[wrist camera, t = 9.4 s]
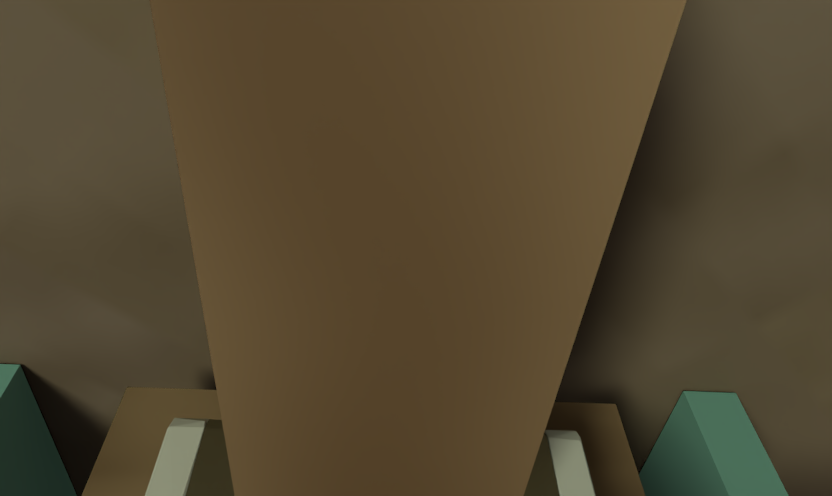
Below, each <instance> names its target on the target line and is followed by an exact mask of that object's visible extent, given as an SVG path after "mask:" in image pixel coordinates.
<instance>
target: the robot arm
mask: <svg viewBox="0 0 832 496" xmlns="http://www.w3.org/2000/svg"><path fill="white" fill-rule="evenodd" d="M145 496H235V495H234V489H233V483H232V477H231V471H230V466H229V460H228V454H227V448H226V442H225V436H224V431H223V425H222V420H215V419H197V418H174V419H173V421H172V422H171V424H170V425H169V427H168V428H167V431H166V434H165V437H164V440H163V443H162V446H161V449H160V452H159V455H158V458H157V461H156V464H155V467H154V470H153V473H152V476H151V479H150V482H149V485H148V488H147V491H146V494H145ZM524 496H596V494H595V491H594V487H593V483H592V479H591V475H590V471H589V468H588V464H587V460H586V456H585V452H584V449H583V445H582V441H581V437H580V436H579V435H578V433H577V432H576V431H574V430H545V432H544V435H543V438H542V441H541V444H540V447H539V450H538V453H537V456H536V459H535V462H534V465H533V468H532V471H531V474H530V477H529V480H528V484H527V487H526V490H525V493H524Z"/></svg>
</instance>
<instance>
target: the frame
mask: <svg viewBox="0 0 832 496" xmlns="http://www.w3.org/2000/svg"><path fill="white" fill-rule="evenodd" d="M639 477H640V480H641V484H642V487H643V490H644V493H645V496H788V494H787V492H786V490H785V488H784V486H783V484H782V482H781V480H780V478H779V476H778V474H777V472H776V470H775V468H774V466H773V464H772V462H771V461H770V459H769V457H768V455H767V453H766V451H765V449H764V447H763V445H762V443H761V441H760V439H759V437H758V435H757V433H756V431H755V429H754V427H753V426H752V424H751V422H750V420H749V418H748V416H747V414H746V412H745V410H744V408H743V406H742V404H741V402H740V400H739V398H738V396H737V394H736V393H723V392H697V391H683V392H682V394H681V396H680V398H679V400H678V402H677V404H676V406H675V408H674V409H673V411H672V413H671V415H670V417H669V419H668V421H667V423H666V424H665V426H664V428H663V430H662V432H661V434H660V436H659V438H658V440H657V441H656V443H655V445H654V447H653V449H652V451H651V453H650V455H649V457H648V458H647V460H646V462H645V464H644V466H643V468H642V470H641V472H640V473H639ZM0 496H77V495H76V492H75V490H74V488H73V485H72V483H71V481H70V478H69V476H68V474H67V472H66V469H65V467H64V465H63V462H62V460H61V458H60V455H59V453H58V451H57V449H56V446H55V444H54V442H53V439H52V437H51V435H50V432H49V430H48V428H47V425H46V423H45V421H44V419H43V416H42V414H41V412H40V409H39V407H38V405H37V402H36V400H35V398H34V395H33V393H32V391H31V389H30V386H29V384H28V382H27V379H26V377H25V375H24V372H23V370H22V368H21V366H20V365H16V364H0Z"/></svg>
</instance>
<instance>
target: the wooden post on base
mask: <svg viewBox="0 0 832 496" xmlns="http://www.w3.org/2000/svg"><path fill="white" fill-rule="evenodd" d="M686 1H687V0H150V5H151V11H152V17H153V23H154V28H155V34H156V40H157V46H158V52H159V58H160V63H161V69H162V75H163V81H164V87H165V93H166V98H167V104H168V110H169V116H170V122H171V127H172V133H173V139H174V145H175V151H176V157H177V162H178V168H179V174H180V180H181V186H182V192H183V197H184V203H185V209H186V215H187V221H188V227H189V232H190V238H191V244H192V250H193V256H194V262H195V267H196V273H197V279H198V285H199V291H200V297H201V302H202V308H203V314H204V320H205V326H206V332H207V337H208V343H209V349H210V355H211V361H212V366H213V372H214V378H215V384H216V390H201V389H172V388H143V387H127V389H126V391H125V393H124V396H123V398H122V400H121V403H120V405H119V408H118V410H117V412H116V415H115V417H114V419H113V422H112V424H111V427H110V429H109V431H108V434H107V436H106V439H105V441H104V443H103V446H102V448H101V450H100V453H99V455H98V458H97V460H96V462H95V465H94V467H93V469H92V472H91V474H90V477H89V479H88V481H87V484H86V486H85V489H84V491H83V493H82V496H145V494H146V491H147V488H148V485H149V482H150V479H151V476H152V473H153V470H154V467H155V464H156V461H157V458H158V455H159V452H160V449H161V446H162V443H163V440H164V437H165V434H166V431H167V428H168V427H169V425H170V424H171V422H172V421H173V419H174V418H197V419H215V420H222V425H223V431H224V436H225V442H226V448H227V454H228V460H229V466H230V471H231V477H232V483H233V489H234V495H235V496H524V493H525V490H526V487H527V484H528V480H529V477H530V474H531V471H532V468H533V465H534V462H535V459H536V456H537V453H538V450H539V447H540V444H541V441H542V438H543V435H544V432H545V430H574V431H576V432H577V433H578V435H579V436H580V437H581V441H582V445H583V449H584V452H585V456H586V460H587V464H588V468H589V471H590V475H591V479H592V483H593V487H594V491H595V494H596V496H645V493H644V490H643V487H642V484H641V480H640V477H639V474H638V471H637V468H636V465H635V462H634V459H633V456H632V453H631V450H630V447H629V443H628V440H627V437H626V434H625V431H624V428H623V425H622V422H621V419H620V416H619V413H618V410H617V406H616V404H602V403H574V402H555V399H556V396H557V392H558V389H559V386H560V383H561V380H562V377H563V374H564V371H565V368H566V365H567V362H568V359H569V356H570V353H571V350H572V347H573V344H574V341H575V338H576V335H577V332H578V329H579V326H580V323H581V320H582V317H583V314H584V311H585V307H586V304H587V301H588V298H589V295H590V292H591V289H592V286H593V283H594V280H595V277H596V274H597V271H598V268H599V265H600V262H601V259H602V256H603V253H604V250H605V247H606V244H607V241H608V238H609V235H610V232H611V229H612V226H613V223H614V219H615V216H616V213H617V210H618V207H619V204H620V201H621V198H622V195H623V192H624V189H625V186H626V183H627V180H628V177H629V174H630V171H631V168H632V165H633V162H634V159H635V156H636V153H637V150H638V147H639V144H640V141H641V138H642V135H643V131H644V128H645V125H646V122H647V119H648V116H649V113H650V110H651V107H652V104H653V101H654V98H655V95H656V92H657V89H658V86H659V83H660V80H661V77H662V74H663V71H664V68H665V65H666V62H667V59H668V56H669V53H670V50H671V47H672V43H673V40H674V37H675V34H676V31H677V28H678V25H679V22H680V19H681V16H682V13H683V10H684V7H685V4H686Z"/></svg>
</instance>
